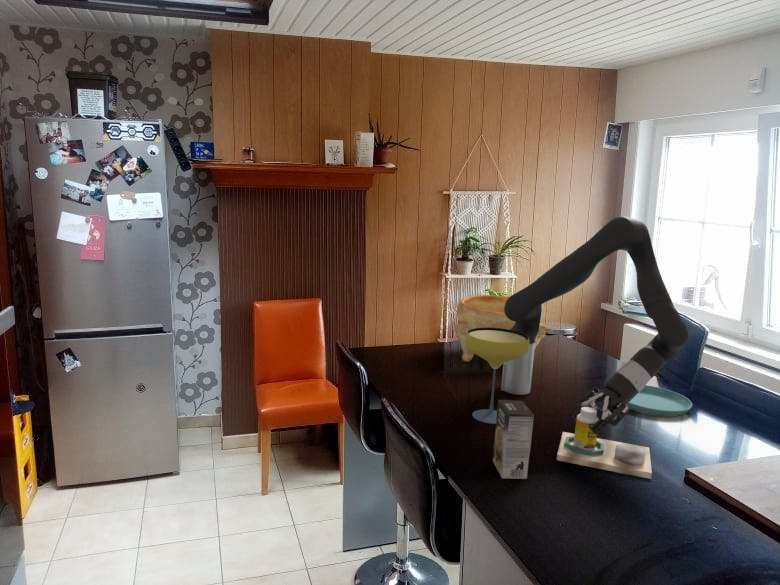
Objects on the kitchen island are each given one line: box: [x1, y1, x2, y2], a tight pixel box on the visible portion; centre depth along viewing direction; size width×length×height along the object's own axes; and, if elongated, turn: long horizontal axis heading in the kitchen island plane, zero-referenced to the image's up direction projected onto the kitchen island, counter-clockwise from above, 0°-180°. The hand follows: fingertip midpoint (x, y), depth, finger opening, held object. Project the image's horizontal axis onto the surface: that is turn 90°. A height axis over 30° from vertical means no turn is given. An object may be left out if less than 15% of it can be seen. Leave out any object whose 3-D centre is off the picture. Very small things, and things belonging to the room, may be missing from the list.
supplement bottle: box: [574, 407, 600, 450], centre depth 158 cm, size 6×6×10 cm
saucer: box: [626, 385, 693, 417], centre depth 198 cm, size 24×24×3 cm
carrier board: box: [556, 431, 653, 480], centre depth 157 cm, size 22×16×4 cm
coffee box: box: [492, 399, 535, 480], centre depth 145 cm, size 9×6×16 cm
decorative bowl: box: [453, 294, 547, 363], centre depth 241 cm, size 34×35×23 cm
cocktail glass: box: [466, 328, 529, 425], centre depth 178 cm, size 18×18×25 cm
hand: (583, 425), depth 157 cm, fingers open, 8 cm apart
